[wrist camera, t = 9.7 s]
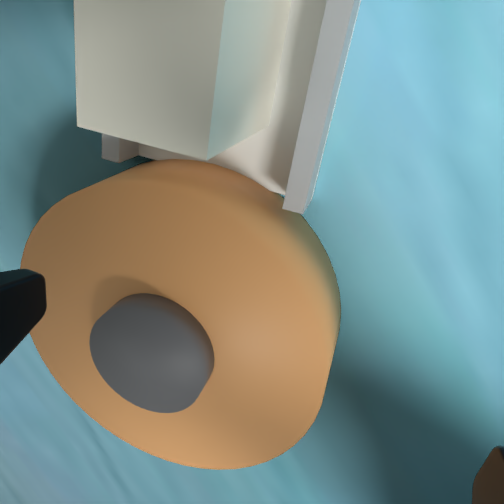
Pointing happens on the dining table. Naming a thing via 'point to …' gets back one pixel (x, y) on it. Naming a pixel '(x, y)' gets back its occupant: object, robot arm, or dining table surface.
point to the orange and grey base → (204, 277)
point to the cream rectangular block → (178, 70)
